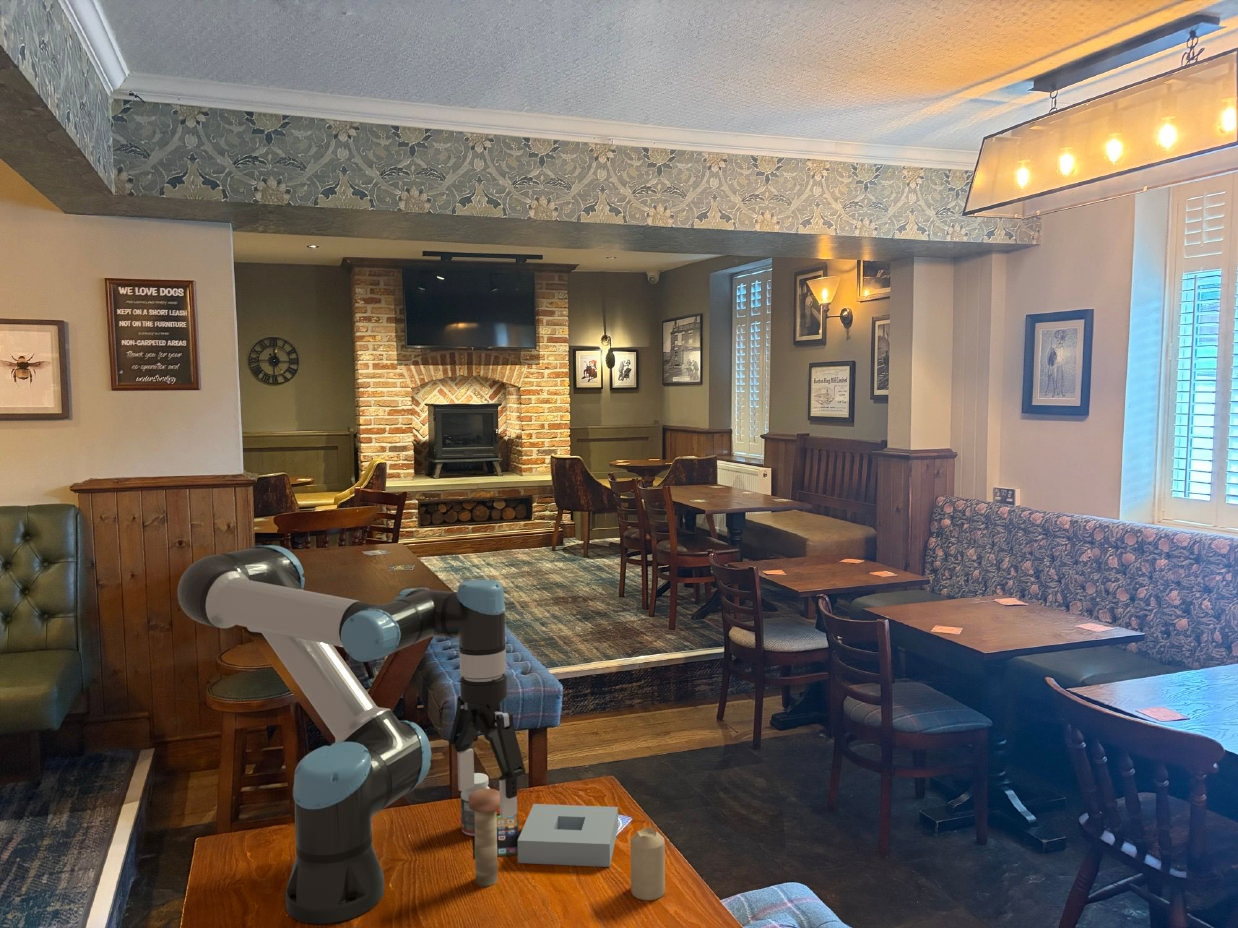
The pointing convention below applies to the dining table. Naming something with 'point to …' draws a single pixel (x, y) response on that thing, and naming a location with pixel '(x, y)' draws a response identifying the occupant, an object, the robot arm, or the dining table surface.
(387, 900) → the dining table surface
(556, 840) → the block
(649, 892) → the candle
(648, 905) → the dining table surface
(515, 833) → the smartphone
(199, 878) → the dining table surface
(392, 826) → the dining table surface
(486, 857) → the peg
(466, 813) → the pill bottle
